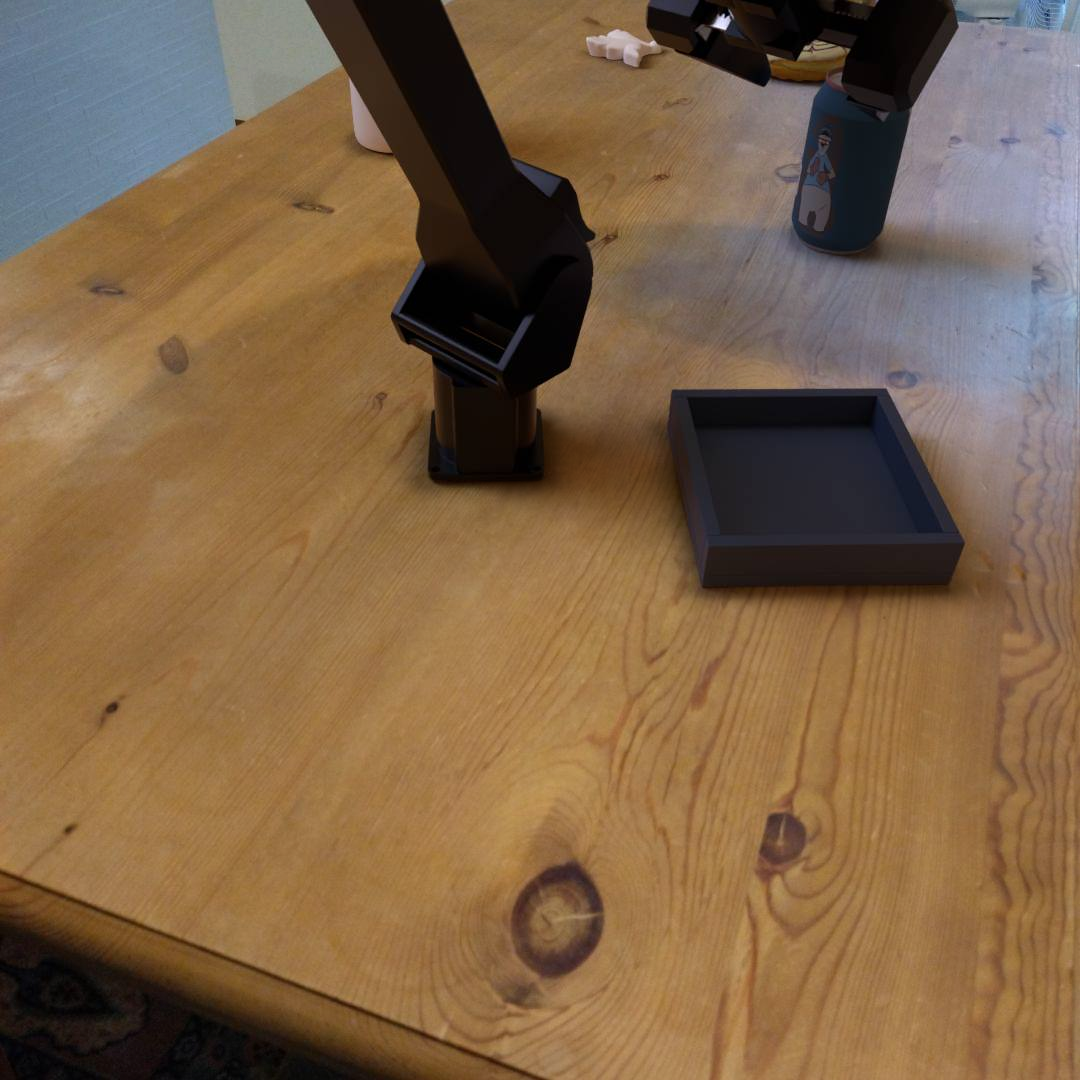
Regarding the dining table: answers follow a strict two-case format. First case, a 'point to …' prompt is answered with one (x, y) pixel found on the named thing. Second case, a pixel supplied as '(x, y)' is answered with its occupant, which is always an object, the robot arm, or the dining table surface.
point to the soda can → (846, 172)
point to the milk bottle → (366, 125)
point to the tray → (807, 490)
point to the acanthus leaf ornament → (621, 47)
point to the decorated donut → (810, 62)
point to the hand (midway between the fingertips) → (823, 97)
